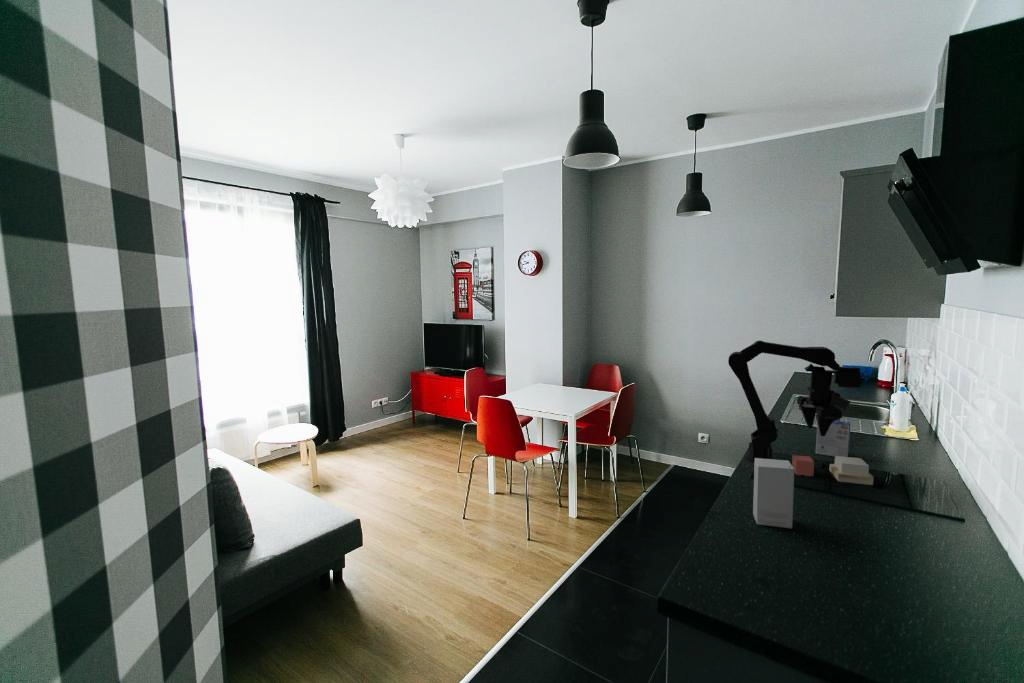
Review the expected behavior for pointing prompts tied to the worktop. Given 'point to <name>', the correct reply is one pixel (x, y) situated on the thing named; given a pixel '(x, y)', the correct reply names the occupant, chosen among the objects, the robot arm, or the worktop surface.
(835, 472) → the tower base
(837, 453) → the ink cartridge box
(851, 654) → the worktop surface
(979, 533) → the worktop surface
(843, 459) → the tower top
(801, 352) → the robot arm
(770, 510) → the skincare box
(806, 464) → the red cube
